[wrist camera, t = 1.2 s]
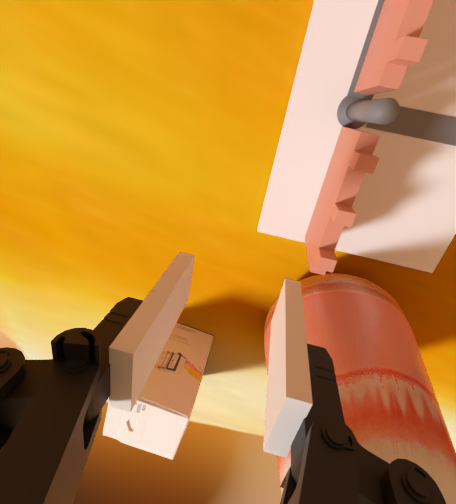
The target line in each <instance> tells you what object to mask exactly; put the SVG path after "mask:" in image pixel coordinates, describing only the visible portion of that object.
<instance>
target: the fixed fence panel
mask: <svg viewBox="0 0 456 504" xmlns="http://www.w3.org/2000/svg"><path fill="white" fill-rule="evenodd" d="M433 1H434V0H384V3H383V6H382V9H381V12H380V15H379V18H378V21H377V24H376V27H375V30H374V33H373V36H372V39H371V42H370V45H369V48H368V51H367V54H366V57H365V60H364V63H363V66H362V69H361V72H360V75H359V78H358V81H357V84H356V87H355V90H354V92H355V93H360V94H365V95H373V94H378V93H383V92H389V91H394V90H398V89H399V87H400V84H401V82H402V79H403V77H404V74H405V72H406V69H407V67H408V66H410V65H413V64H416V63H418V62H419V61H420V58H421V56H422V53H423V51H424V49H425V46H426V44H427V41H428V40H427V39H422V38H419V36H420V34H421V31H422V29H423V26H424V24H425V21H426V19H427V16H428V14H429V11H430V9H431V6H432V4H433ZM399 109H400V107H399V103H398V102H397V101H396V100H395V99H393V98H382V99H374V100H366V101H358V102H353V103H351V104H350V105H349V106H348V107H347V110H346V116H347V118H348V119H350V120H353V121H360V122H368V123H375V124H382V125H385V124H389V123H391V122H392V121H394V120H395V119H396V117H397V116H398V114H399Z"/></svg>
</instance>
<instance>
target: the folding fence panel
mask: <svg viewBox="0 0 456 504" xmlns="http://www.w3.org/2000/svg"><path fill="white" fill-rule="evenodd" d="M379 137H380V135H376V134H372V133H368V132H365V131H361V130H357V129H352V128H347V127H343V126H342V128H341V131H340V134H339V137H338V140H337V143H336V146H335V149H334V152H333V155H332V158H331V161H330V164H329V167H328V170H327V173H326V176H325V179H324V182H323V185H322V188H321V191H320V194H319V197H318V200H317V203H316V206H315V209H314V212H313V215H312V218H311V221H310V224H309V226H308V229H307V232H306V235H305V245H306V251H307V257H308V263H309V270H310V272H313V273H317V274H321V275H325V273H326V271H328V272H332V273H333V271H334V268H335V266H336V263H337V259H336V256H335V253H334V250H335V248H336V245H337V243H338V240H339V238H340V235H341V233H342V230H343V228H344V226H346V227H350V228H351V227H352V224H353V222H354V219H355V217H356V212H355V211H354V210H353V208H352V205H353V203H354V200H355V198H356V195H357V193H358V190H359V188H360V185H361V182H362V180H363V177H364V175H365V173H368V174H373V173H374V171H375V168H376V166H377V163H378V161H379V158H378V157H376V156H374V155H373V152H374V150H375V147H376V145H377V142H378V140H379Z"/></svg>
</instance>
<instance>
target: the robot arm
mask: <svg viewBox="0 0 456 504" xmlns="http://www.w3.org/2000/svg"><path fill="white" fill-rule="evenodd" d="M194 256H195V255H191V254H187V253H183V252H179V254H178V255H177V256H176V258H175V259H174V260H173V262H172V263H171V264H170V266H169V267H168V268H167V270H166V271H165V272H164V274H163V275H162V277H161V278H160V279H159V281H158V282H157V283H156V285H155V286H154V287H153V289H152V290H151V291H150V293H149V294H148V295H147V297H146V298H145V299H144V301H142V300H138V299H134V298H130V297H127V298H125V299H123V300H122V301H120V302H118V303H117V304H116V305H115V306H114V307H113V308H112V309H111V311H110V313H108V314H107V315H106V316H105V317H104V319H103V320H102V321H101V322H100V323H99V324H98V326H97V327H96V328H95V329H94V330H91V329H87V328H73V329H70V330H66V331H64V332H62V333H60V334H59V335H57V336H56V337H55V338H54V339H53V340H52V341H51V346H52V354H53V359H51V360H25V357H24V355H23V353H22V352H21V351H19V350H17V349H14V348H0V504H72V503H73V500H74V497H75V494H76V491H77V488H78V486H79V483H80V480H81V477H82V474H83V471H84V468H85V465H86V462H87V459H88V456H89V453H90V450H91V447H92V444H93V441H94V438H95V435H96V432H97V429H98V426H99V423H100V420H101V414H102V407H103V405H104V404H105V402H106V401H107V399H108V397H109V406H111V407H114V408H117V409H121V410H124V411H128V412H131V411H132V409H133V407H134V405H135V403H136V401H137V399H138V397H139V395H140V393H141V391H142V389H143V387H144V385H145V383H146V381H147V379H148V377H149V375H150V373H151V371H152V369H153V367H154V365H155V364H156V362H157V360H158V358H159V356H160V354H161V352H162V350H163V348H164V346H165V344H166V342H167V340H168V338H169V336H170V334H171V332H172V330H173V328H174V326H175V324H176V322H177V320H178V318H179V316H180V314H181V313H182V311H183V309H184V307H185V305H186V303H187V301H188V296H189V290H190V283H191V276H192V270H193V263H194ZM336 381H337V380H336V375H335V369H334V364H333V359H332V358H331V356H330V355H329V353H328V352H327V350H326V348H323V347H319V346H315V345H311V344H308V343H307V340H306V330H305V320H304V309H303V299H302V289H301V282H299V281H295V280H291V279H287V278H285V280H284V283H283V287H282V290H281V293H280V296H279V299H278V302H277V305H276V308H275V311H274V314H273V317H272V320H271V332H270V348H269V364H268V380H267V396H266V412H265V428H264V445H263V451H264V452H267V453H271V454H274V455H277V456H281V457H284V458H286V457H287V455H288V453H289V451H290V449H291V466H290V468H289V470H288V472H287V473H286V475H285V477H284V479H283V481H282V484H281V486H280V487H282V488H284V489H283V494H282V498H281V503H280V504H446V502H445V499H444V497H443V494H442V493H441V491H440V489H439V487H438V485H437V484H436V482H435V481H434V480H433V479H432V477H431V476H430V475H429V474H428V473H427V472H426V471H425V470H424V469H423V468H421V467H420V466H419V465H417V464H416V463H414V462H412V461H409V460H407V459H399V458H397V459H396V460H394V461H392V462H391V463H390V464H389V463H388V462H386V461H384V460H383V459H381V458H379V457H378V456H376V455H374V454H373V453H371V452H369V451H368V450H367V449H365V448H364V447H362V446H361V445H360V444H359V443H358V442H357V439H356V437H355V435H354V434H353V432H352V430H351V429H350V428H349V427H348V426H347V425H346V424H345V420H344V416H343V411H342V405H341V400H340V395H339V390H338V385H337V383H336Z"/></svg>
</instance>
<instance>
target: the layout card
mask: <svg viewBox="0 0 456 504" xmlns="http://www.w3.org/2000/svg"><path fill="white" fill-rule="evenodd" d="M383 3H384V0H314V3H313V7H312V11H311V15H310V19H309V23H308V27H307V31H306V35H305V39H304V43H303V47H302V51H301V55H300V59H299V63H298V67H297V71H296V75H295V79H294V83H293V87H292V91H291V95H290V99H289V103H288V108H287V112H286V116H285V120H284V124H283V128H282V132H281V136H280V140H279V144H278V148H277V152H276V156H275V160H274V164H273V168H272V172H271V176H270V180H269V184H268V188H267V192H266V196H265V200H264V204H263V208H262V212H261V216H260V220H259V224H258V228H257V231H258V232H262V233H266V234H270V235H275V236H279V237H283V238H287V239H291V240H296V241H300V242H304V243H305V235H306V232H307V229H308V226H309V224H310V221H311V218H312V215H313V212H314V209H315V206H316V203H317V200H318V197H319V194H320V191H321V188H322V185H323V182H324V179H325V176H326V173H327V170H328V167H329V164H330V161H331V158H332V155H333V152H334V149H335V146H336V143H337V140H338V137H339V134H340V131H341V128H342V126H343V127H347V128H352V129H357V130H361V131H365V132H368V133H372V134H376V135H380V137H379V140H378V142H377V145H376V147H375V150H374V152H373V155H374V156H376V157H378V158H379V161H378V163H377V166H376V168H375V171H374V173H373V174H368V173H365V175H364V177H363V180H362V182H361V185H360V188H359V190H358V193H357V195H356V198H355V200H354V203H353V205H352V208H353V210H354V211H355V212H356V217H355V219H354V222H353V224H352V227H351V228H350V227H346V226H344V228H343V230H342V233H341V235H340V238H339V240H338V243H337V245H336V248H335V250H337V251H341V252H346V253H350V254H354V255H358V256H362V257H367V258H371V259H375V260H379V261H383V262H387V263H392V264H396V265H400V266H404V267H408V268H413V269H417V270H421V271H425V272H429V273H433V271H434V270H435V268H436V266H437V265H438V263H439V261H440V260H441V258H442V256H443V255H444V253H445V251H446V249H447V248H448V246H449V244H450V243H451V241H452V239H453V238H454V236H455V234H456V0H434V1H433V4H432V6H431V9H430V11H429V14H428V16H427V19H426V21H425V24H424V26H423V29H422V31H421V34H420V36H419V38H422V39H427V40H428V41H427V44H426V46H425V49H424V51H423V53H422V56H421V58H420V61H419V62H418V63H416V64H413V65H410V66H408V67H407V69H406V72H405V74H404V77H403V79H402V82H401V84H400V87H399V89H398V90H394V91H389V92H383V93H378V94H373V95H365V94H360V93H355V92H354V90H355V87H356V84H357V81H358V78H359V75H360V72H361V69H362V66H363V63H364V60H365V57H366V54H367V51H368V48H369V45H370V42H371V39H372V36H373V33H374V30H375V27H376V24H377V21H378V18H379V15H380V12H381V9H382V6H383ZM382 98H393V99H395V100H396V101H397V102H398V103H399V107H400V109H399V114H398V116H397V117H396V119H395V120H394V121H392V122H391V123H389V124H385V125H382V124H375V123H368V122H360V121H353V120H350V119H348V118H347V116H346V110H347V107H348V106H349V105H350V104H351V103H353V102H358V101H366V100H374V99H382Z"/></svg>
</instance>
